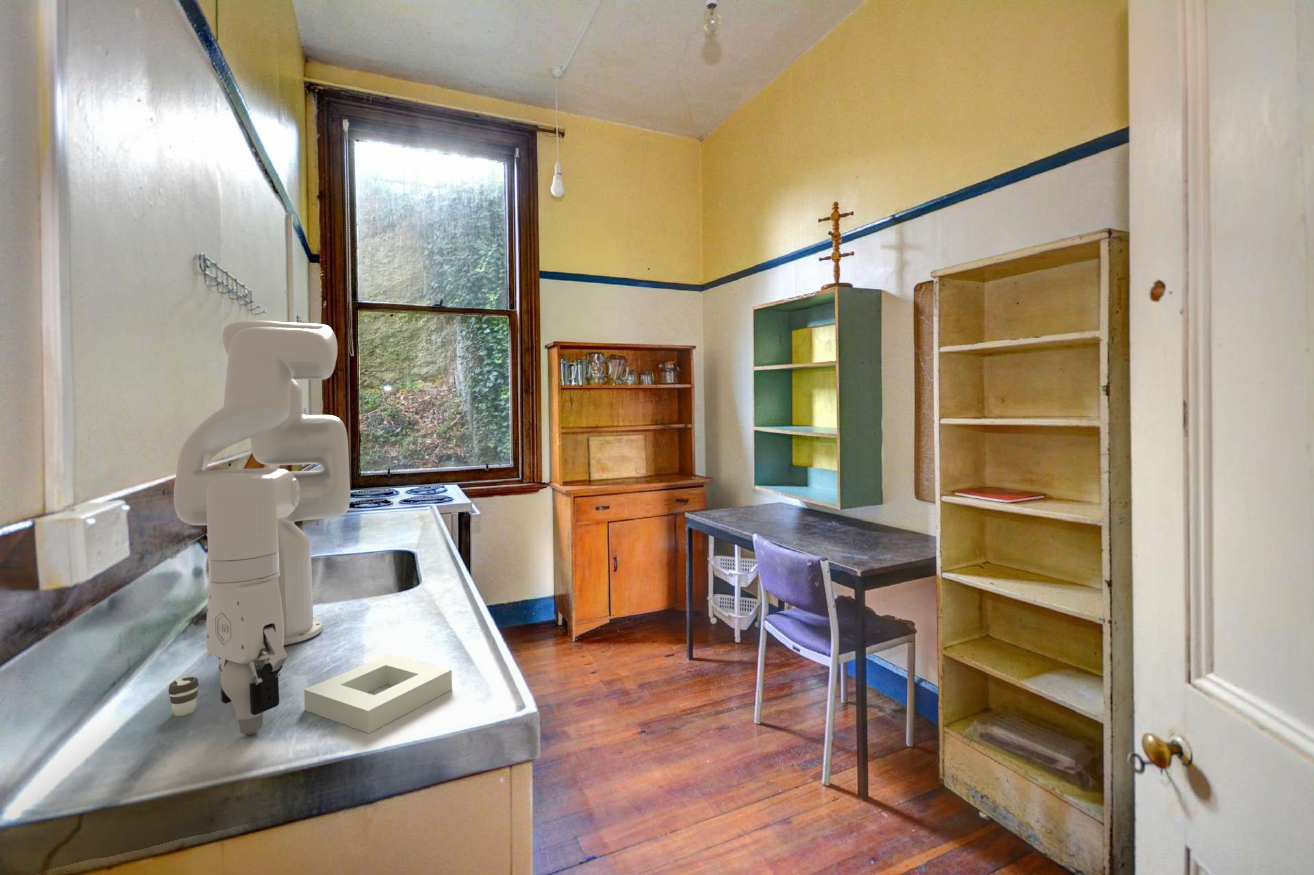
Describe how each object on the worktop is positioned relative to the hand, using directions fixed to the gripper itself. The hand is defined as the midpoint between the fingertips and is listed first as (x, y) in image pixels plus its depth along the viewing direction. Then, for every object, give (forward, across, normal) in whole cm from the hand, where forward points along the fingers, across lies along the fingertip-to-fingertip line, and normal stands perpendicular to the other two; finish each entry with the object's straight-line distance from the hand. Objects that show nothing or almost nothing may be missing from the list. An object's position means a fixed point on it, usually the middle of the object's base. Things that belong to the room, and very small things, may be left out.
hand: (250, 703), depth 77 cm
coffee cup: (+5, -16, -1) cm, 16 cm away
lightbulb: (+4, 0, 0) cm, 4 cm away
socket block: (+4, +7, +14) cm, 16 cm away
